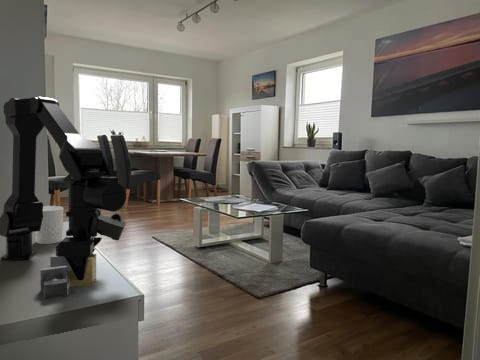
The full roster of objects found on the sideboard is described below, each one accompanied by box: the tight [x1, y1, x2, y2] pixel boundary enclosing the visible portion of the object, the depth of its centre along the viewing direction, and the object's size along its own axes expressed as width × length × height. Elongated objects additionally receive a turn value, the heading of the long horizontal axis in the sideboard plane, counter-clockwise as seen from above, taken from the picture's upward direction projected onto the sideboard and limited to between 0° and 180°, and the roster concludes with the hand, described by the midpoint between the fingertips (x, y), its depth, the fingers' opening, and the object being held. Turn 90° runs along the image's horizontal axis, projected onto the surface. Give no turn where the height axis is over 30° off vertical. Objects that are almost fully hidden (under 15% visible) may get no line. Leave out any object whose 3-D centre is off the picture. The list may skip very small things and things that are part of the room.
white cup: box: [34, 205, 65, 245], centre depth 107 cm, size 8×8×10 cm
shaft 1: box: [39, 266, 68, 300], centre depth 72 cm, size 5×5×4 cm
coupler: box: [69, 253, 97, 287], centre depth 78 cm, size 4×4×6 cm
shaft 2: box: [49, 255, 70, 277], centre depth 84 cm, size 5×5×4 cm
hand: (83, 275), depth 79 cm, fingers closed on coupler, 4 cm apart
